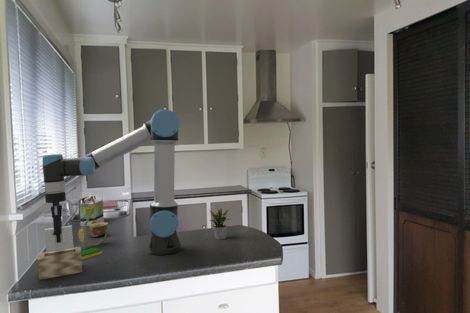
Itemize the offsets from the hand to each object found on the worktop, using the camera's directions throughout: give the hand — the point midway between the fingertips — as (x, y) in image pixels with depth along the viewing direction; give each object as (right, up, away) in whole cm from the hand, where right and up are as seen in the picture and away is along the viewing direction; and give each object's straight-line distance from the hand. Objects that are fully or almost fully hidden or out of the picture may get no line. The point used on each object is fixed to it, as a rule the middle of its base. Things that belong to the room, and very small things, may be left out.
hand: (59, 248), depth 150 cm
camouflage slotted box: (+1, -10, 0) cm, 10 cm away
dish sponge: (+2, -9, +20) cm, 22 cm away
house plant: (+66, -4, +37) cm, 76 cm away
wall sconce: (0, -8, +38) cm, 39 cm away
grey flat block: (0, 0, 0) cm, 0 cm away
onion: (-6, -8, +58) cm, 59 cm away
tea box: (-23, -7, +93) cm, 96 cm away
